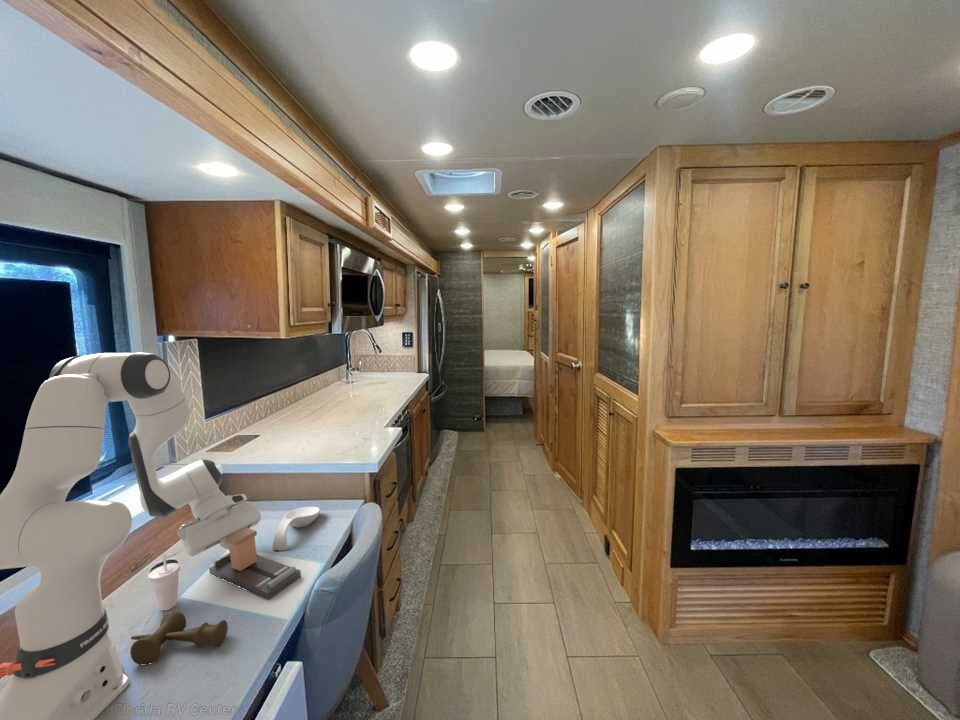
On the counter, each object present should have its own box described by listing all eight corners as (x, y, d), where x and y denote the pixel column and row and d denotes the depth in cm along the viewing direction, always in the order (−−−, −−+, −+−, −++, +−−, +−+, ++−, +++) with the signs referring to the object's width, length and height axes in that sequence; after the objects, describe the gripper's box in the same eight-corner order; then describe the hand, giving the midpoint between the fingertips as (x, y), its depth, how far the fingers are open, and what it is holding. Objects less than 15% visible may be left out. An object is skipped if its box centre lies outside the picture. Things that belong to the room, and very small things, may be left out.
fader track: (209, 574, 114) (208, 563, 113) (243, 555, 122) (242, 544, 122) (268, 600, 102) (266, 587, 102) (300, 577, 111) (299, 565, 110)
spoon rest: (293, 515, 147) (292, 497, 147) (325, 513, 148) (323, 495, 147) (261, 552, 124) (259, 531, 123) (299, 550, 124) (297, 529, 124)
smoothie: (166, 616, 98) (159, 563, 96) (145, 613, 99) (138, 561, 97) (190, 598, 104) (184, 548, 102) (170, 595, 105) (164, 546, 104)
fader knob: (228, 568, 112) (225, 537, 111) (249, 556, 118) (246, 527, 117) (239, 572, 110) (235, 541, 109) (259, 560, 115) (256, 530, 115)
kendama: (210, 664, 84) (112, 669, 83) (236, 630, 93) (148, 633, 92) (208, 637, 83) (110, 642, 82) (234, 606, 93) (147, 609, 92)
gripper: (177, 522, 107) (202, 564, 104) (249, 492, 126) (272, 527, 122) (170, 534, 110) (194, 576, 106) (242, 503, 128) (264, 537, 125)
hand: (237, 549), depth 115 cm, fingers closed, pressing on fader knob
